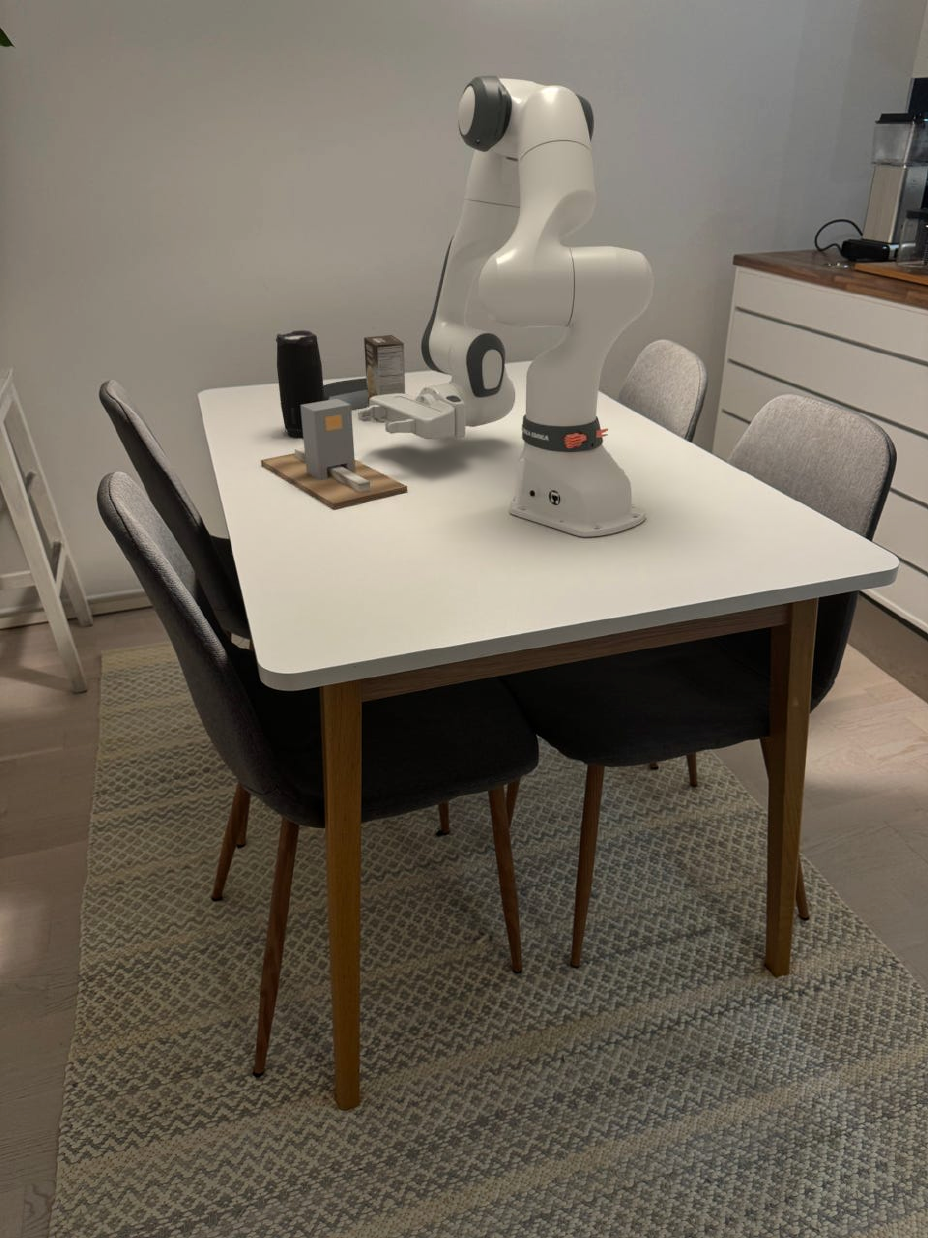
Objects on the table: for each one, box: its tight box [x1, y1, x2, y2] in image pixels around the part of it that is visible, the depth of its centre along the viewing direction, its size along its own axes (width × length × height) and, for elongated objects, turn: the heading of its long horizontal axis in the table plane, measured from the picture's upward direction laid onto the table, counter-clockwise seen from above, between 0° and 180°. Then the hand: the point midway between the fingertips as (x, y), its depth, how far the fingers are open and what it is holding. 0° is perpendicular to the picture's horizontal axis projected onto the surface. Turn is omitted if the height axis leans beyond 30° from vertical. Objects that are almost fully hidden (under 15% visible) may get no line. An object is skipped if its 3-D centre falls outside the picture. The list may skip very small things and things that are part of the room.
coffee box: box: [363, 334, 406, 423], centre depth 194 cm, size 9×6×16 cm
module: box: [300, 399, 356, 480], centre depth 159 cm, size 5×7×12 cm
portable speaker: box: [275, 329, 324, 439], centre depth 182 cm, size 9×9×20 cm
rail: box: [260, 446, 408, 510], centre depth 162 cm, size 28×14×2 cm, turn 35°
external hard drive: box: [323, 377, 368, 412], centre depth 208 cm, size 13×19×4 cm
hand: (373, 422), depth 163 cm, fingers open, 8 cm apart
